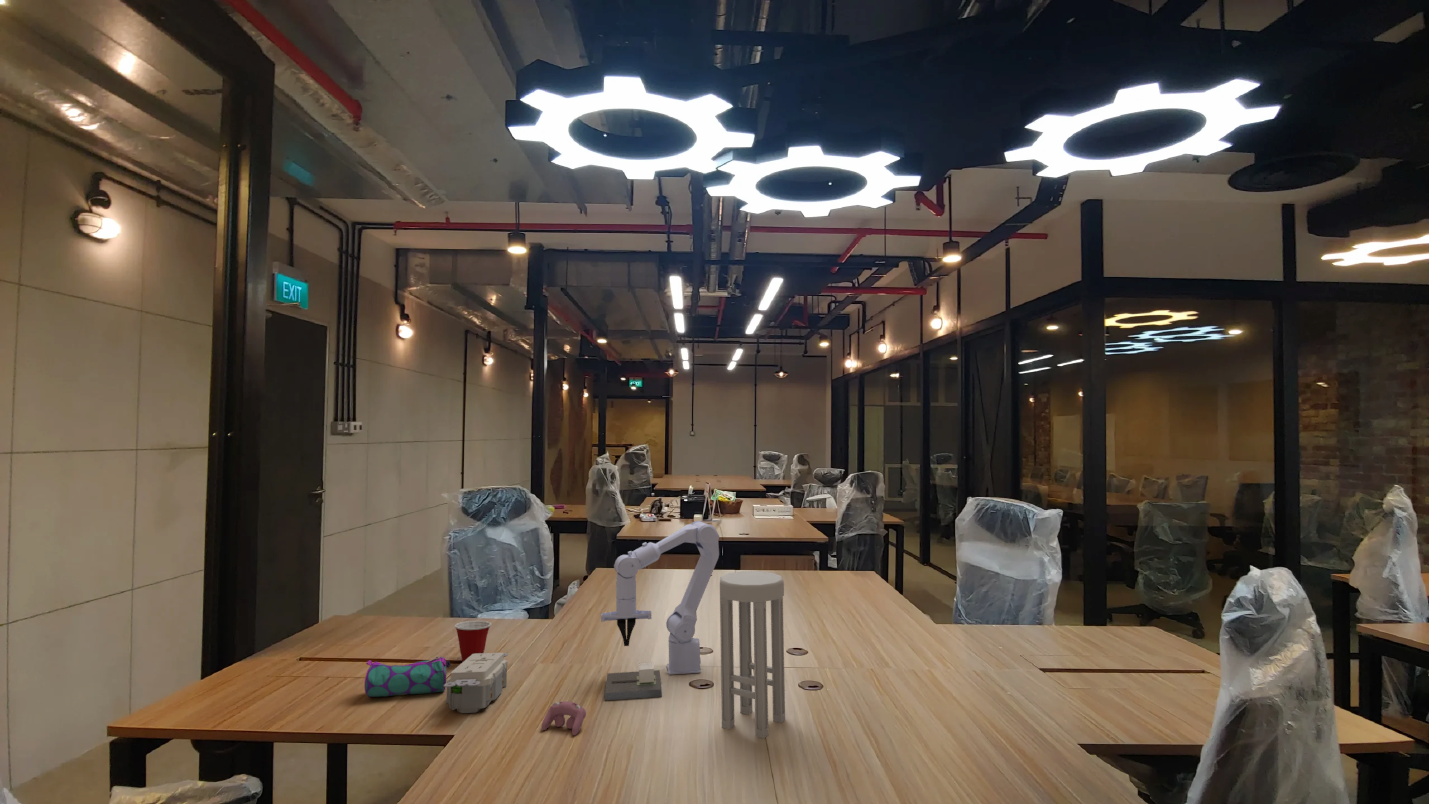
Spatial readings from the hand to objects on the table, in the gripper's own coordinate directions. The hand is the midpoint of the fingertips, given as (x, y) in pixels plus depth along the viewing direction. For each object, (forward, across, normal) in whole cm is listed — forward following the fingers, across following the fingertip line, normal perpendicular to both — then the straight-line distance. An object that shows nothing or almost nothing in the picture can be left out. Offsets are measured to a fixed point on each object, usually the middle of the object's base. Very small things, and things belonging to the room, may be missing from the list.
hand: (626, 644), depth 184 cm
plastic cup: (+10, +48, -21) cm, 53 cm away
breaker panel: (+9, -2, +8) cm, 13 cm away
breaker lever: (+7, -6, +8) cm, 12 cm away
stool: (+10, -31, +34) cm, 47 cm away
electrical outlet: (+10, +40, +8) cm, 41 cm away
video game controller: (+10, +14, +30) cm, 34 cm away
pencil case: (+10, +60, +1) cm, 61 cm away
